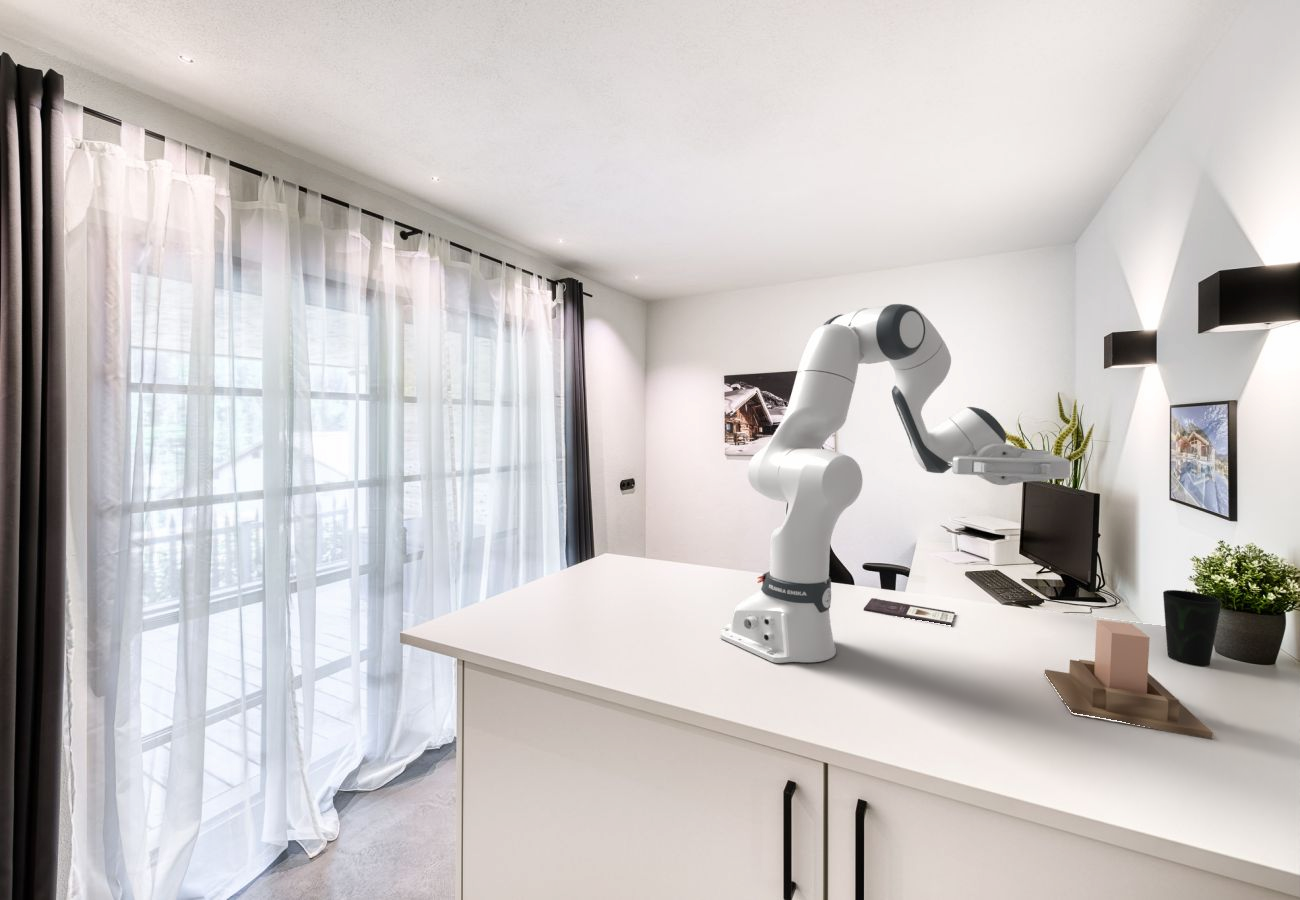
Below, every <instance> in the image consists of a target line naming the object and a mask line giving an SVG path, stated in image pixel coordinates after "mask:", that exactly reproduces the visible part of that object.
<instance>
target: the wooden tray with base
mask: <svg viewBox="0 0 1300 900" xmlns="http://www.w3.org/2000/svg"><path fill="white" fill-rule="evenodd" d="M1094 668H1095V660H1094V661H1093V660H1085V659H1078V660H1075V659H1069V672H1064V671H1056V670H1050V669H1044V675H1045V674H1046V676H1047V677H1048V679H1049V680H1050V682H1051V683H1052V684H1053V686H1054V687H1055V689H1056V690H1057V692H1058V693H1059V695H1060V696H1061V698H1062V699H1063V701H1064V702H1065V703H1066V705H1067V706H1068V707H1069V709H1070V710H1071V712H1073V713H1077V714H1083V715H1089V716H1095V717H1100V718H1106V719H1111V720H1117V721H1122V722H1126V723H1130V724H1135V725H1140V726H1145V727H1150V728H1149V729H1151V728H1153V729H1152V730H1156V729H1158V731H1162V730H1163V731H1162V732H1167V733H1168V732H1170V733H1175V734H1181V735H1187V736H1193V737H1198V738H1202V739H1203V738H1204V739H1209V740H1213V734H1214V733H1213V731H1212V730H1211V729H1210V728H1209V727H1208V726H1207V725H1205V724H1204V723H1203V722H1202V721H1201V720H1200V719H1199V718H1197V717H1198V716H1196V715H1194V714H1193V713H1192V712H1191V711H1190V710H1189V709H1188V708H1187V707H1185V705H1183V704H1182V703H1181V702H1180V700H1179V699H1178V698H1177V697H1175V696H1174V695H1173V694H1172V693H1171V692H1170V691H1169V690H1168V689H1167V688H1166V687H1165V686H1164V685H1162V684H1161V682H1159V681H1158V680H1157V679H1156V678H1155V677H1153V676H1152V675H1151V674H1150V673H1149V672H1148V678H1147V694H1145V693H1138V692H1132V691H1125V690H1119V689H1112V688H1106V687H1103V686H1102V685H1101V684H1100V682H1099V681H1098V680H1097V679H1096V678H1095V677H1094ZM1048 679H1047V680H1048ZM1050 682H1049V683H1050ZM1059 695H1058V696H1059ZM1061 698H1060V699H1061ZM1063 701H1062V702H1063ZM1145 727H1144V728H1145ZM1154 728H1155V729H1154Z"/></svg>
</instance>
